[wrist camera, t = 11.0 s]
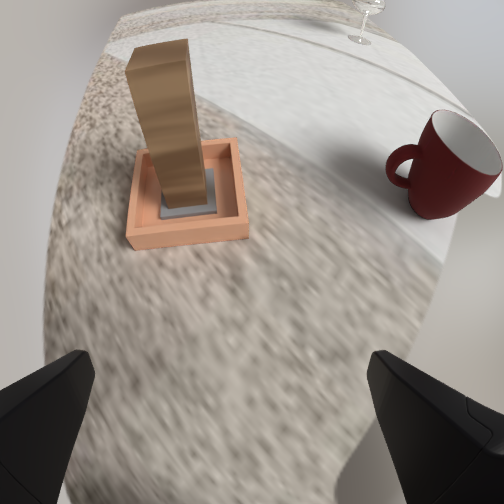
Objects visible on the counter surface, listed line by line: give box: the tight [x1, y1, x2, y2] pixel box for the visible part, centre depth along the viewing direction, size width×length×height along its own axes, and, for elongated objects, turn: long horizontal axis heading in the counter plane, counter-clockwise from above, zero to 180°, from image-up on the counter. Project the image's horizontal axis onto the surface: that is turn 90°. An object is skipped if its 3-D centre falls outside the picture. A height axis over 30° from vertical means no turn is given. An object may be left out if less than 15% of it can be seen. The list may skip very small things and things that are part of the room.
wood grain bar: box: [125, 39, 217, 220], centre depth 21 cm, size 5×5×14 cm
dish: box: [126, 138, 249, 251], centre depth 27 cm, size 10×10×2 cm
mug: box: [386, 110, 502, 220], centre depth 24 cm, size 11×8×10 cm
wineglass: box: [348, 0, 385, 45], centre depth 42 cm, size 7×7×12 cm
